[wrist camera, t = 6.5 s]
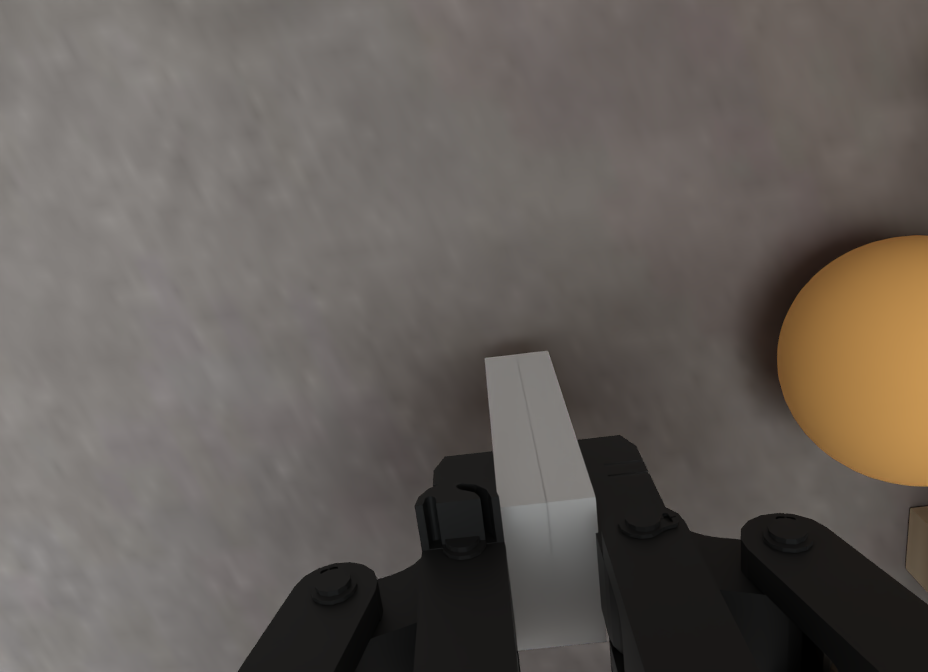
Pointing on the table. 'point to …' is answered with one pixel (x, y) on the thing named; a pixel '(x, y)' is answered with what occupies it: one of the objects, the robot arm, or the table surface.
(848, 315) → the ball
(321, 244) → the table surface
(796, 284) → the table surface
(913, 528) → the bridge
